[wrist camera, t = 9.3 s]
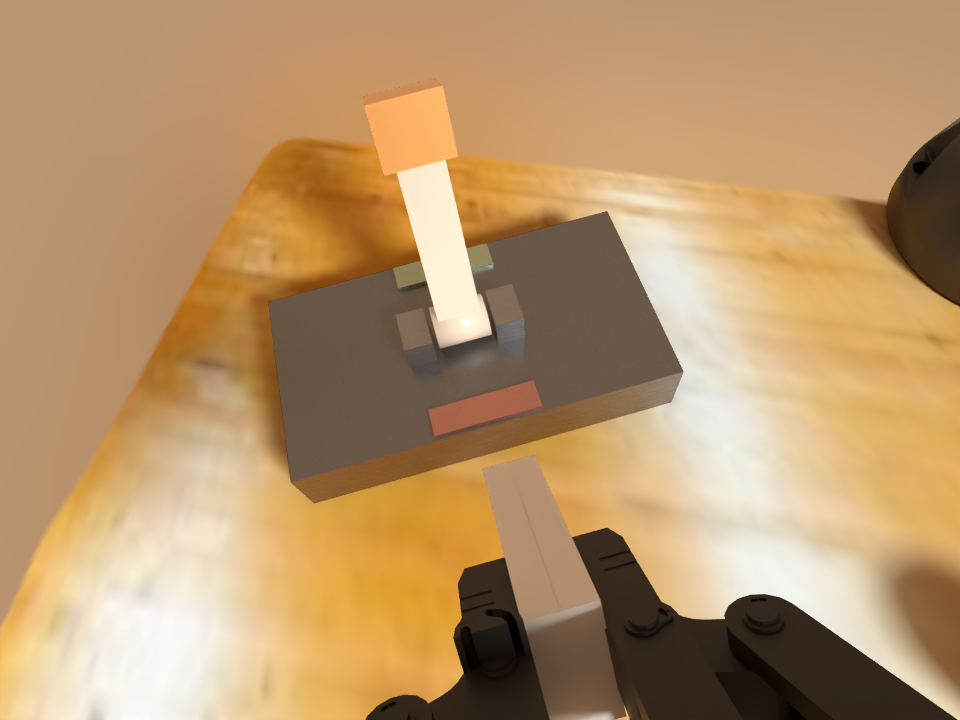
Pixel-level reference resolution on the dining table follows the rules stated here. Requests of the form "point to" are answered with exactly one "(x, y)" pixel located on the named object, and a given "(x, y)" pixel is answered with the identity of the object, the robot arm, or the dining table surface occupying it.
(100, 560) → the dining table surface
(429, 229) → the lever
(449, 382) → the box
